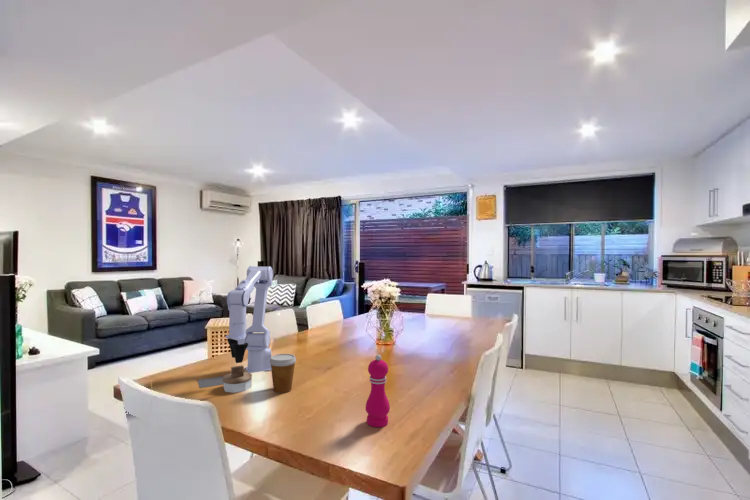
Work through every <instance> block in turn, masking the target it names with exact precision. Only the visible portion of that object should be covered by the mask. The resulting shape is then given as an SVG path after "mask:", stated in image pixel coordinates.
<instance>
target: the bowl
mask: <svg viewBox="0 0 750 500" xmlns="http://www.w3.org/2000/svg"><path fill="white" fill-rule="evenodd" d="M252 380H253V379H251V380H249V381H247V382H244V383H239V384H227V383H224V385H223V389H224V392H225V393H234V394H235V393H241V392H246V391H248V390H249V389H251V388H252Z"/></svg>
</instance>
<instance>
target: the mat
mask: <svg viewBox="0 0 750 500" xmlns="http://www.w3.org/2000/svg"><path fill="white" fill-rule="evenodd" d="M223 376H224V375H220V376H213V377H207V378H201V379H197V383H198V387H199V389H203V388H211V387H215V386H222V385H223V386H224V382H223Z"/></svg>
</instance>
